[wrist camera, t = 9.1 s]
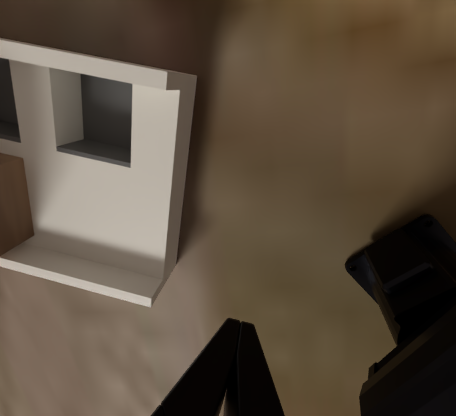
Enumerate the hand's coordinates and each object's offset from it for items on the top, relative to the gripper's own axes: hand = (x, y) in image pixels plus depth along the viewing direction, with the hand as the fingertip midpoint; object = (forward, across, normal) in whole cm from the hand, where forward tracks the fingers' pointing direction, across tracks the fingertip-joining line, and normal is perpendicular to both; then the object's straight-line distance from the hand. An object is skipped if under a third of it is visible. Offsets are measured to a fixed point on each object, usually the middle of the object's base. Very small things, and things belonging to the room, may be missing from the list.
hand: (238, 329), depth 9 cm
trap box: (+12, +14, +1) cm, 19 cm away
